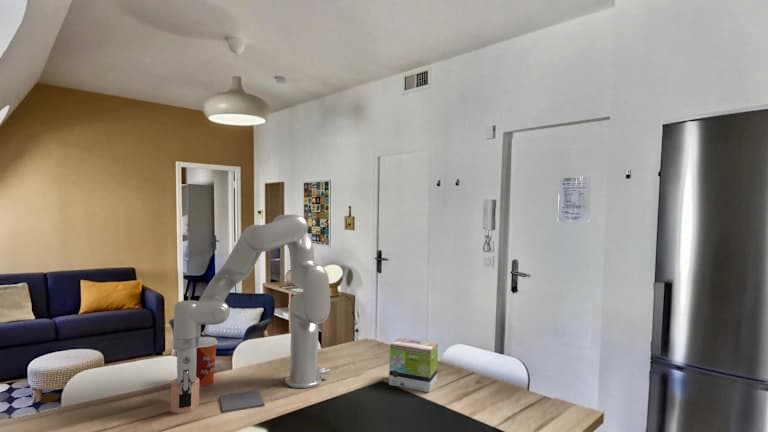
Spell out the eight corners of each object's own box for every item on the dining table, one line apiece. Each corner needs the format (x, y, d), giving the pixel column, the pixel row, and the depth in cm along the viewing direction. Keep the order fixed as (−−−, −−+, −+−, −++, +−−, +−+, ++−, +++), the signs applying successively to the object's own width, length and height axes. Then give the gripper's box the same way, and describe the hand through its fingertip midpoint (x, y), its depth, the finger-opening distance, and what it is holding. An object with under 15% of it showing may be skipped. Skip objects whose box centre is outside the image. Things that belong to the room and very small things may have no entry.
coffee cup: (207, 388, 142) (208, 343, 142) (185, 386, 144) (186, 341, 144) (221, 379, 150) (222, 337, 150) (200, 377, 152) (202, 335, 152)
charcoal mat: (258, 391, 140) (258, 389, 140) (264, 406, 129) (264, 404, 129) (219, 397, 135) (219, 395, 135) (222, 412, 124) (222, 410, 124)
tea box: (388, 386, 148) (389, 343, 148) (398, 376, 157) (399, 336, 157) (430, 393, 142) (430, 349, 142) (437, 383, 151) (438, 341, 152)
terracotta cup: (198, 400, 132) (198, 375, 132) (198, 410, 125) (199, 383, 125) (170, 404, 129) (171, 378, 129) (170, 415, 122) (171, 387, 122)
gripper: (201, 349, 121) (199, 411, 121) (199, 334, 137) (197, 389, 137) (172, 351, 118) (170, 415, 118) (173, 336, 134) (171, 392, 133)
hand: (184, 401), depth 127 cm, fingers closed on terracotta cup, 7 cm apart
